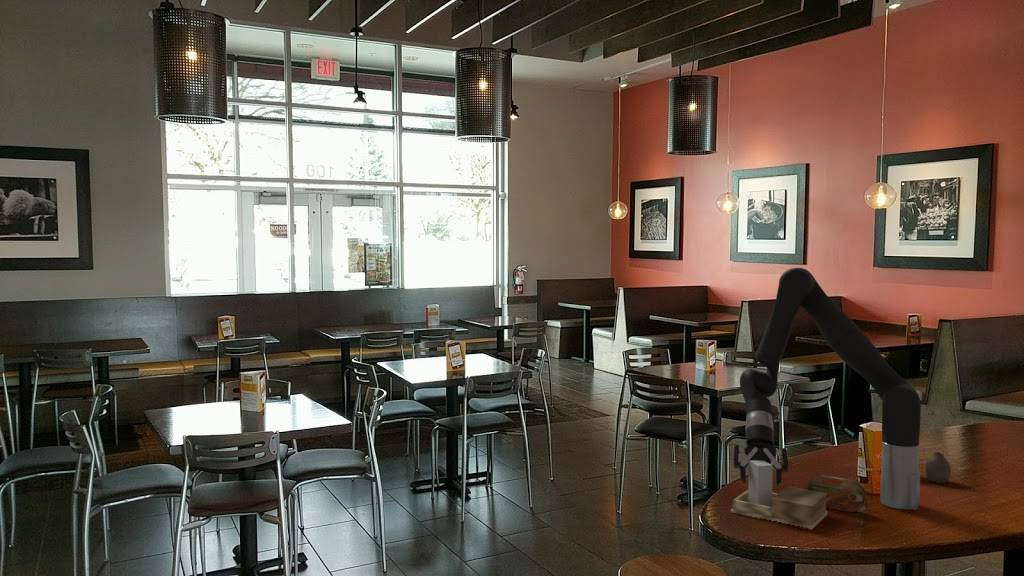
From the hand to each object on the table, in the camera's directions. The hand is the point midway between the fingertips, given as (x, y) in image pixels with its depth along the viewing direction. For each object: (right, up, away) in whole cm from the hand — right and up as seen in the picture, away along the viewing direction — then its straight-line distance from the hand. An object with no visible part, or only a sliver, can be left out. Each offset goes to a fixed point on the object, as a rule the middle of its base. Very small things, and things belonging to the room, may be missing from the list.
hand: (760, 482), depth 205 cm
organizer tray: (+4, -8, -2) cm, 9 cm away
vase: (+62, -6, +26) cm, 67 cm away
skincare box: (0, -7, +2) cm, 7 cm away
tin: (+21, -8, +3) cm, 23 cm away
